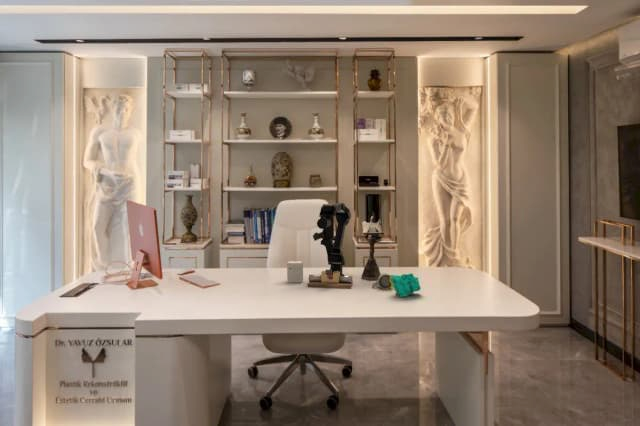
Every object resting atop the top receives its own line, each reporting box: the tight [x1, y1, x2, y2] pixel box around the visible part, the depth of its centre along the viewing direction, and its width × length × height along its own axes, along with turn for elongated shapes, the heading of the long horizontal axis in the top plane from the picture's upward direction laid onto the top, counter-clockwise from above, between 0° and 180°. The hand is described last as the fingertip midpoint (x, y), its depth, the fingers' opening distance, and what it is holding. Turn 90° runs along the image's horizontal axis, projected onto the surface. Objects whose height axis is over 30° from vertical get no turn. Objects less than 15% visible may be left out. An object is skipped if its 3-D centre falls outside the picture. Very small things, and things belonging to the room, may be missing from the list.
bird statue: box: [361, 215, 385, 281], centre depth 267 cm, size 17×13×35 cm
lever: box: [325, 269, 333, 280], centre depth 248 cm, size 2×3×11 cm
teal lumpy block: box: [389, 272, 422, 298], centre depth 231 cm, size 15×12×13 cm
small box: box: [286, 260, 304, 283], centre depth 261 cm, size 8×6×10 cm
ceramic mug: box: [371, 272, 392, 290], centre depth 248 cm, size 10×8×7 cm
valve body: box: [308, 270, 353, 284], centre depth 252 cm, size 4×22×6 cm, turn 81°
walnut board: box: [307, 279, 354, 290], centre depth 253 cm, size 12×22×2 cm, turn 81°
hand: (328, 256), depth 265 cm, fingers closed
